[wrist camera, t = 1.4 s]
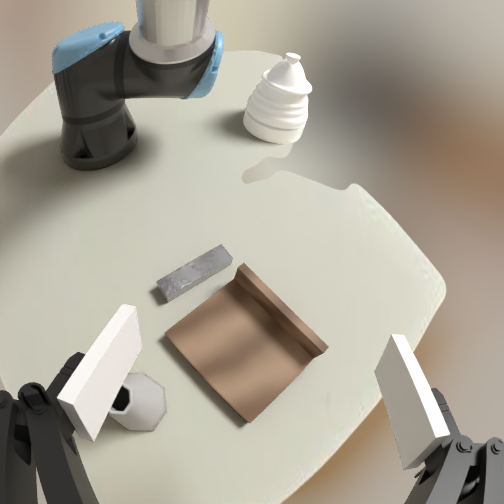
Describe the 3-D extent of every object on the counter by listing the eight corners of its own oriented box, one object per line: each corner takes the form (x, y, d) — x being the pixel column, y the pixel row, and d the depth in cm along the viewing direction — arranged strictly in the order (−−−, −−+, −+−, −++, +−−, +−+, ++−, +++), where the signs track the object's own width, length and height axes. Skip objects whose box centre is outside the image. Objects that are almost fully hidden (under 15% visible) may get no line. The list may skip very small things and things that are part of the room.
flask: (115, 363, 30) (89, 343, 22) (173, 382, 30) (167, 370, 22) (100, 419, 26) (67, 418, 18) (159, 439, 26) (147, 450, 18)
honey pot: (295, 151, 56) (326, 74, 41) (234, 131, 56) (252, 51, 40) (304, 122, 63) (330, 56, 48) (252, 104, 63) (269, 37, 48)
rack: (165, 335, 33) (162, 325, 29) (237, 279, 39) (243, 262, 35) (247, 422, 29) (255, 424, 26) (313, 355, 35) (328, 346, 31)
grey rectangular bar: (157, 288, 36) (156, 281, 35) (219, 252, 41) (221, 244, 39) (168, 303, 36) (167, 297, 34) (230, 265, 40) (232, 257, 38)
